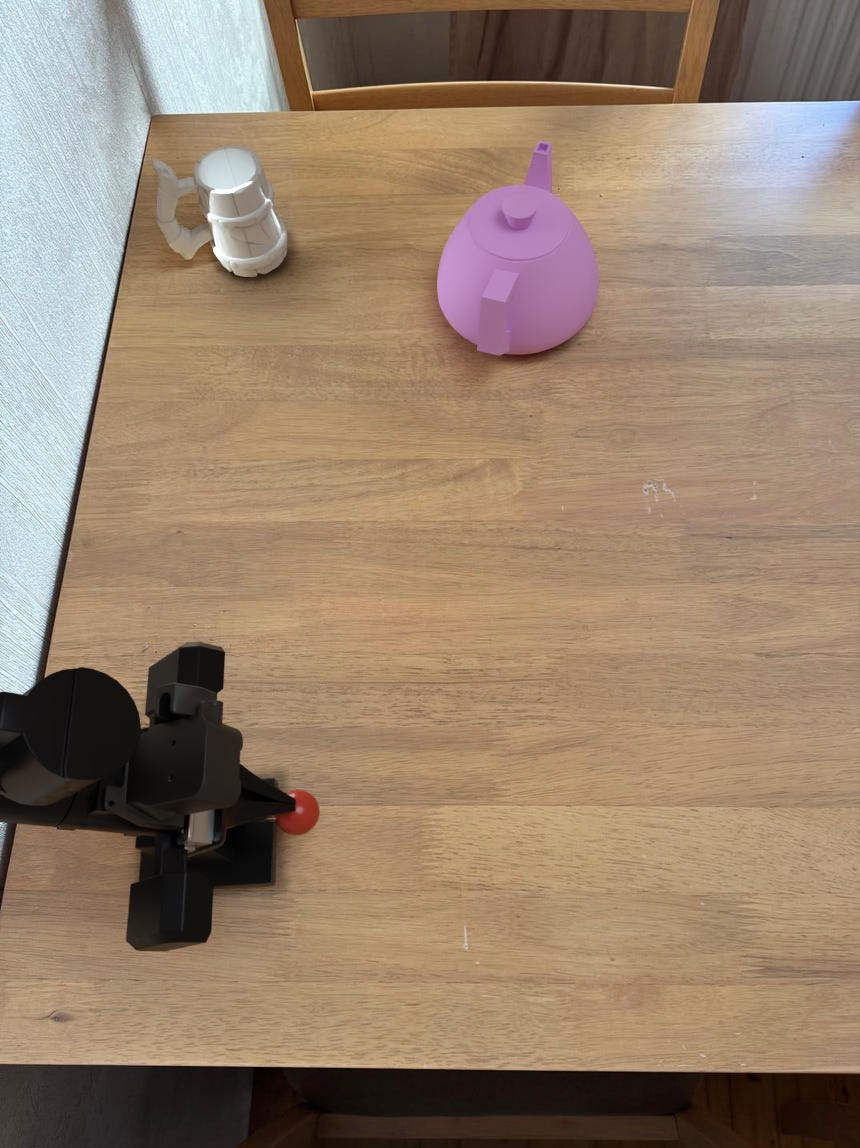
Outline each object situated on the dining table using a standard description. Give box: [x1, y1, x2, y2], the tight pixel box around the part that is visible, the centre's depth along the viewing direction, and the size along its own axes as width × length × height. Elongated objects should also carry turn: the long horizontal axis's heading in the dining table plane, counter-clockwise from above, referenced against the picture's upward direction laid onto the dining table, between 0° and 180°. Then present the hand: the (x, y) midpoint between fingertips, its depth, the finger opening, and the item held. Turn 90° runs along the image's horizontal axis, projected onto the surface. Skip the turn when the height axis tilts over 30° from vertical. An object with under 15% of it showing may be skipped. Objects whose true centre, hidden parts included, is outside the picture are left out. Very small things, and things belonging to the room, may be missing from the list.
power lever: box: [256, 789, 321, 836], centre depth 64 cm, size 11×3×3 cm, turn 94°
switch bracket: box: [134, 777, 279, 890], centre depth 66 cm, size 10×8×10 cm
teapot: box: [436, 139, 600, 357], centre depth 85 cm, size 22×16×12 cm
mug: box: [151, 144, 289, 278], centre depth 88 cm, size 8×12×12 cm, turn 107°
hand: (292, 806), depth 63 cm, fingers closed, pressing on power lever
